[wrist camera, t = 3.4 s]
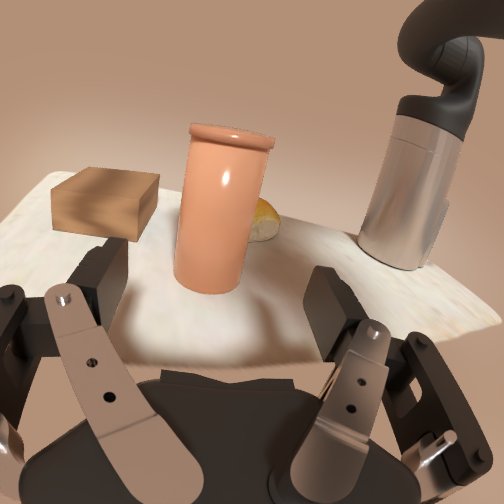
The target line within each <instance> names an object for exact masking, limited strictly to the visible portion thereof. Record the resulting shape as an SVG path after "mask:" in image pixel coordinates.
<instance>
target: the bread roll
mask: <svg viewBox="0 0 504 504" xmlns="http://www.w3.org/2000/svg"><path fill="white" fill-rule="evenodd" d="M279 226H280V218H279V215H278V214H277V212H276V211H275V209H274V208H273V207H272V206H271V205H270V204H269V203H268V202H267V201H265V200H263V199H261V198H258V202H257V207H256V211H255V215H254V220H253V224H252V228H251V233H250V237H249V241H248V242H256V241H265V240H268V239H271V238H273V237H274V236H275V235H276V234H277V232H278V230H279Z"/></svg>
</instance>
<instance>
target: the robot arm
mask: <svg viewBox="0 0 504 504" xmlns="http://www.w3.org/2000/svg"><path fill="white" fill-rule="evenodd" d="M476 36H478V37H488V38H496V39H504V0H424V1H423V2H422V3H421V4H420V5H419V6H418V7H417V8H416V9H415V10H414V11H413V12H412V13H411V14H410V15H409V16H408V18H407V19H406V21H405V22H404V24H403V26H402V28H401V30H400V33H399V37H398V43H397V45H398V52H399V56H400V57H401V59H402V61H403V62H404V63H405V64H407V65H408V66H409V67H411V68H412V69H414V70H415V71H417V72H419V73H421V74H423V75H425V76H427V77H430V78H432V79H434V80H436V81H438V82H440V83H442V84H444V87H443V91H442V93H441V96H438V97H428V96H420V95H407V96H404V97H402V98H401V100H400V102H399V105H398V109H397V113H396V117H395V121H394V125H393V129H392V133H391V136H390V140H389V143H388V147H387V151H386V154H385V157H384V161H383V164H382V167H381V171H380V174H379V177H378V180H377V183H376V187H375V190H374V193H373V196H372V199H371V202H370V205H369V208H368V210H367V213H366V216H365V219H364V222H363V225H362V226H361V230H360V233H359V235H358V238H357V242H358V244H359V245H360V247H361V248H362V249H363V250H364V251H366V252H367V253H368V254H370V255H371V256H373V257H374V258H376V259H378V260H380V261H381V262H383V263H386V264H388V265H390V266H393V267H396V268H399V269H404V270H415V269H416V268H417V267H423V266H424V264H425V262H426V260H427V257H428V255H429V253H430V251H431V249H432V246H433V244H434V242H435V239H436V237H437V235H438V232H439V230H440V227H441V225H442V222H443V220H444V217H445V215H446V212H447V209H448V207H449V201H448V200H447V199H446V197H447V194H448V191H449V188H450V185H451V182H452V179H453V176H454V173H455V170H456V166H457V163H458V159H459V156H460V152H461V148H462V145H463V141H464V138H465V134H466V131H467V129H468V127H469V125H470V123H471V120H472V118H473V115H474V111H475V107H476V103H477V98H478V94H479V89H480V85H481V80H482V75H483V68H484V50H483V46H482V43H481V42H480V40H479V39H478V38H477V37H476ZM127 279H128V240H127V239H126V238H119V237H112V236H110V237H109V238H108V240H107V241H106V242H105V244H104V245H103V247H100V246H96V247H95V248H93V249H91V250H90V251H88V252H87V254H86V255H85V256H84V258H83V260H82V261H81V262H80V263H79V266H77V267H76V269H75V270H74V272H73V273H72V275H71V276H70V278H69V279H68V280H67V282H66V283H63V284H58V285H55V286H53V287H51V288H50V289H49V290H48V291H47V292H46V294H45V296H44V297H33V298H26V297H25V293H24V290H23V289H22V288H21V287H20V286H18V285H5V286H3V287H1V288H0V494H1V495H3V496H5V497H7V498H9V499H12V500H14V501H16V502H18V503H20V504H435V503H437V502H439V501H440V500H443V499H444V498H446V497H448V496H450V495H451V494H453V493H455V492H456V491H459V490H460V489H462V488H464V487H465V486H467V485H468V484H470V483H472V482H473V481H475V480H477V479H478V478H480V477H481V476H482V475H484V474H485V473H487V472H488V471H489V470H490V469H491V467H492V464H493V455H492V451H491V449H490V447H489V445H488V443H487V440H486V438H485V436H484V434H483V432H482V430H481V428H480V425H479V424H478V421H477V419H476V417H475V416H474V414H473V412H472V410H471V408H470V406H469V404H468V402H467V400H466V398H465V397H464V394H463V393H462V391H461V389H460V387H459V385H458V384H457V382H456V380H455V379H454V377H453V375H452V373H451V372H450V370H449V368H448V366H447V365H446V363H445V362H444V360H443V358H442V356H441V355H440V353H439V352H438V350H437V348H436V347H435V345H434V343H433V342H432V341H431V340H430V339H429V338H428V337H427V336H426V335H424V334H422V333H420V332H411V333H409V334H408V336H407V338H406V339H405V340H401V339H397V338H393V337H391V334H390V331H389V330H388V329H387V327H386V326H384V325H383V324H382V323H380V322H378V321H376V320H372V319H369V317H368V316H367V314H366V312H365V311H364V309H363V307H362V306H361V304H360V302H358V299H357V297H356V296H354V295H355V294H354V292H353V291H352V289H351V288H350V286H349V285H347V284H346V283H345V282H344V281H343V280H340V278H339V276H338V275H337V273H336V271H335V270H334V268H331V267H323V266H316V267H315V268H314V270H313V273H312V275H311V278H310V281H309V284H308V286H307V289H306V292H305V294H304V299H303V306H304V310H305V313H306V315H307V318H308V321H309V323H310V326H311V329H312V332H313V334H314V337H315V340H316V343H317V345H318V348H319V351H320V354H321V356H322V359H323V362H335V367H334V368H333V370H332V372H331V374H330V376H329V378H328V380H327V382H326V383H325V385H324V387H323V389H322V391H321V393H320V395H319V396H318V397H316V396H314V395H312V394H310V393H307V392H305V391H302V390H298V389H295V387H294V383H293V379H257V380H251V381H245V382H239V383H231V384H229V383H224V382H221V381H217V380H214V379H210V378H207V377H204V376H201V375H197V374H194V373H185V372H177V371H169V370H161V377H160V379H153V380H148V381H144V382H140V383H138V384H135V382H134V380H133V379H132V378H131V376H130V374H129V372H128V371H127V369H126V367H125V366H124V364H123V362H122V361H121V359H120V357H119V355H118V354H117V352H116V350H115V348H114V347H113V345H112V343H111V341H110V339H109V337H108V335H107V331H108V328H109V326H110V323H111V321H112V318H113V316H114V313H115V311H116V308H117V306H118V303H119V301H120V298H121V296H122V294H123V291H124V289H125V287H126V284H127ZM7 346H8V347H7ZM6 348H7V349H6ZM5 350H6V351H5ZM60 356H61V358H62V361H63V364H64V366H65V369H66V372H67V374H68V377H69V379H70V382H71V384H72V387H73V389H74V392H75V394H76V396H77V399H78V401H79V403H80V405H81V407H82V410H83V412H84V414H85V416H86V419H85V420H83V421H82V422H80V423H79V424H78V425H77V426H75V427H74V428H72V429H71V430H69V431H68V432H67V433H65V434H64V435H62V436H61V437H59V438H58V439H57V440H55V441H54V442H52V443H51V444H49V445H48V446H47V447H45V448H44V449H42V450H41V451H39V452H38V453H36V454H35V455H34V456H32V457H31V458H30V459H29V460H28V461H27V462H26V463H25V461H24V444H23V440H22V438H21V436H20V435H19V433H18V432H17V429H18V425H19V421H20V418H21V415H22V411H23V408H24V405H25V402H26V399H27V396H28V393H29V390H30V387H31V384H32V381H33V379H34V376H35V373H36V371H37V368H38V365H39V363H40V360H41V357H60ZM415 377H416V378H417V380H418V382H419V384H420V387H421V389H422V396H421V399H420V400H419V402H418V403H417V401H416V398H415V396H414V394H413V392H412V390H411V387H410V385H409V384H410V383H411V382H412V381H413V380H414V378H415ZM381 399H382V402H383V404H384V407H385V410H386V412H387V415H388V418H389V421H390V423H391V426H392V429H393V432H394V435H395V437H396V440H397V443H398V446H399V449H400V452H401V455H402V457H401V461H399V460H398V459H397V458H395V457H394V456H392V455H391V454H390V453H388V452H387V451H386V450H384V449H383V448H382V447H380V446H379V445H378V444H376V443H375V442H374V441H372V440H371V439H369V436H370V433H371V430H372V427H373V424H374V421H375V417H376V415H377V411H378V408H379V405H380V401H381Z"/></svg>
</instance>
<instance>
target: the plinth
mask: <svg viewBox="0 0 504 504" xmlns="http://www.w3.org/2000/svg"><path fill="white" fill-rule="evenodd" d="M159 178H160V174H154V173H145V172H136V171H127V170H117V169H106V168H95V167H88V168H86V169H84V170H82V171H81V172H79V173H77V174H75V175H74V176H72V177H70V178H69V179H67V180H65V181H64V182H62V183H60V184H59V185H57V186H56V187H54V188H52V189H51V211H52V225H53V230H59V231H65V232H72V233H79V234H86V235H92V236H99V237H106V238H109V237H110V236H112V237H119V238H126V239H127V240H128V241H133V242H137V241H138V239H139V237H140V236H141V234H142V232H143V230H144V228H145V227H146V225H147V223H148V221H149V219H150V218H151V216H152V214H153V213H154V211H155V209H156V207H157V197H158V186H159Z"/></svg>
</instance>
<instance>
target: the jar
mask: <svg viewBox="0 0 504 504" xmlns="http://www.w3.org/2000/svg"><path fill="white" fill-rule="evenodd" d="M189 134H191V140H190V146H189V152H188V159H187V165H186V171H185V178H184V185H183V192H182V199H181V207H180V215H179V224H178V233H177V242H176V252H175V263H174V276H175V278H176V279H177V281H178V282H179V283H180V284H181V285H183V286H184V287H186V288H188V289H190V290H192V291H195V292H199V293H204V294H222V293H226V292H229V291H231V290H233V289H234V288H236V287H237V285H238V284H239V281H240V276H241V272H242V268H243V263H244V259H245V254H246V250H247V246H248V241H249V237H250V233H251V228H252V224H253V220H254V215H255V211H256V207H257V202H258V198H259V194H260V189H261V185H262V181H263V177H264V172H265V168H266V163H267V160H268V155H269V151H270V149H273V147H274V143H275V138H273V137H270V136H267V135H263V134H260V133H256V132H252V131H248V130H242V129H238V128H233V127H226V126H220V125H213V124H202V123H191V124H190V128H189Z"/></svg>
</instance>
